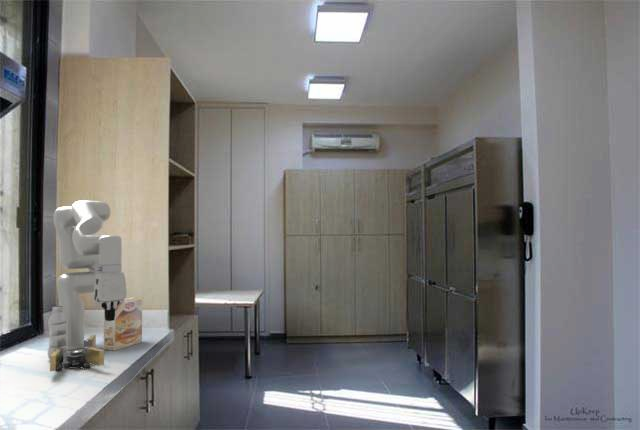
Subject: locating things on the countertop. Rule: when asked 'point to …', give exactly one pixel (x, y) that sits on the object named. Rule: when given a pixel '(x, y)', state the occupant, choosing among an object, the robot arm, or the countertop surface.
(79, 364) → the tribrach base
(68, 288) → the robot arm
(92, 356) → the tan block
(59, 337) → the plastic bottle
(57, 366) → the brushed brass bar
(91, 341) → the knob
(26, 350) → the countertop surface
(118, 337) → the coffeecake box
